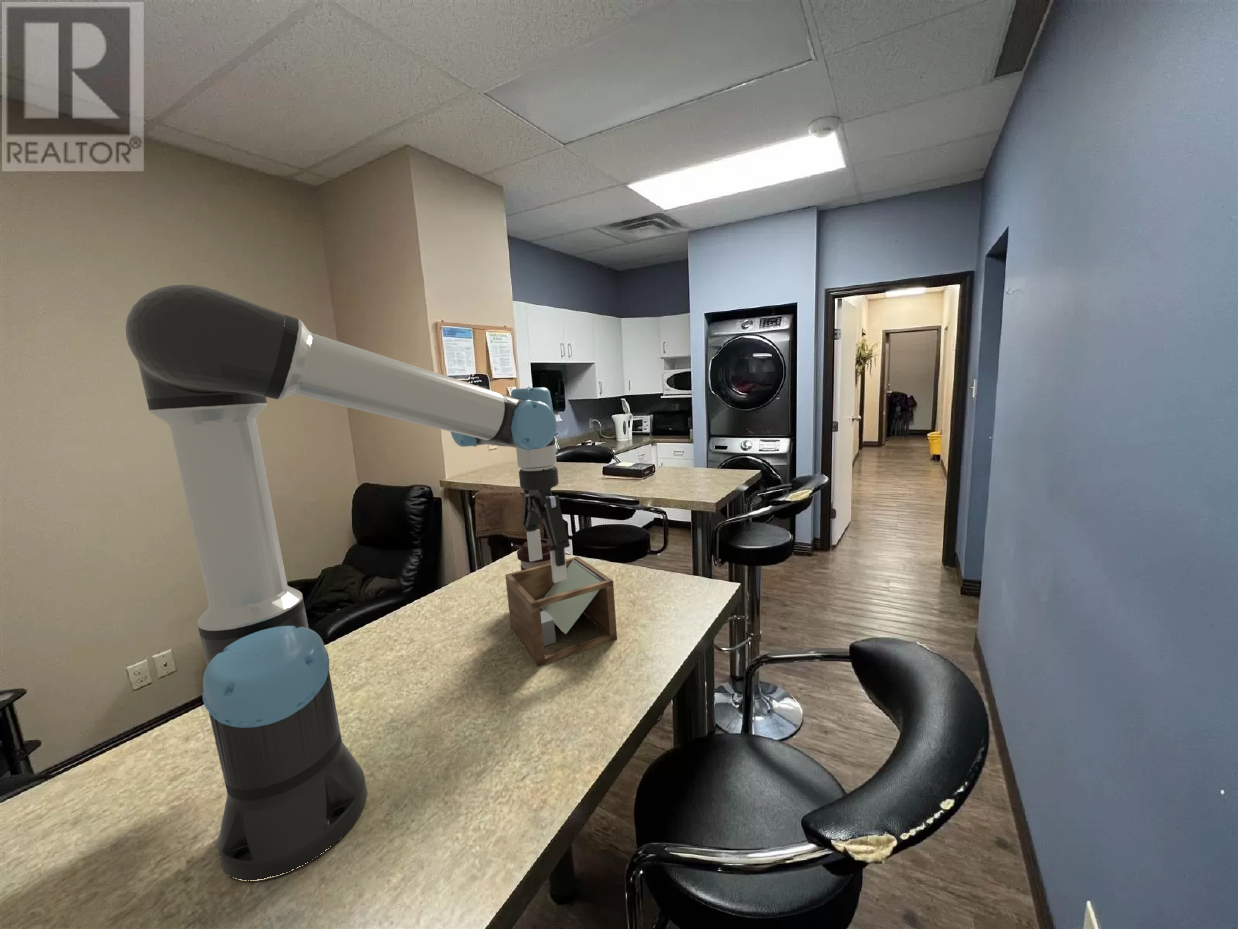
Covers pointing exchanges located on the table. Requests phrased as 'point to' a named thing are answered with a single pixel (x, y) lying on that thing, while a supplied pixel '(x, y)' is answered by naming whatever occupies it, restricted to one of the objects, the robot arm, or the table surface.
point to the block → (547, 628)
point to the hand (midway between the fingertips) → (547, 569)
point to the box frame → (529, 597)
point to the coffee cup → (546, 559)
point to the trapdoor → (572, 607)
